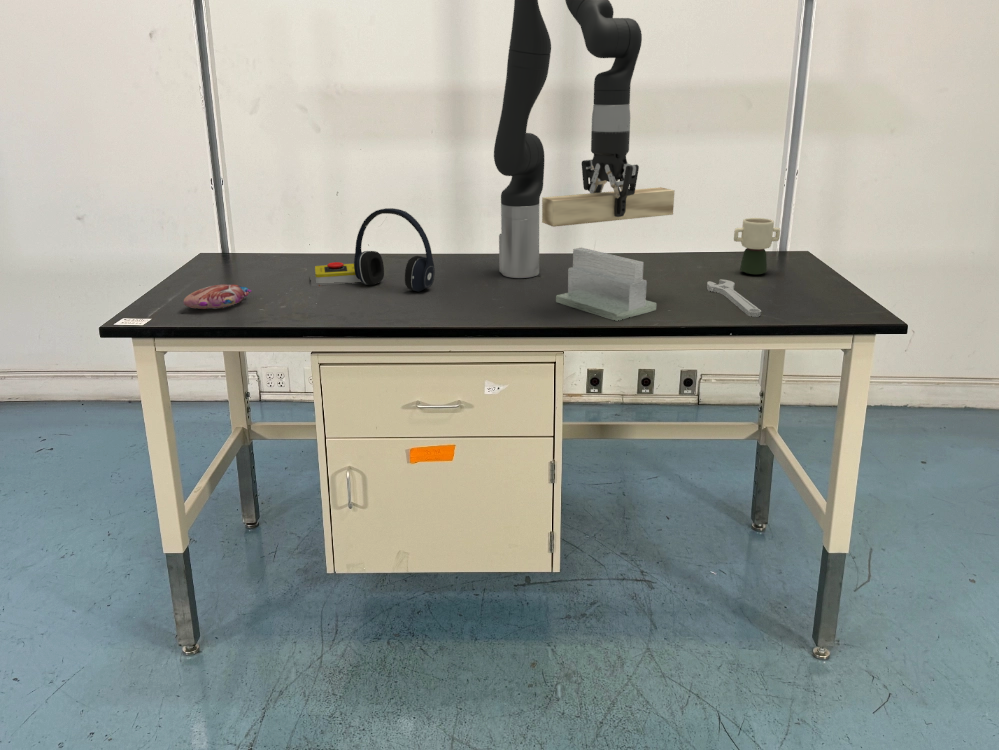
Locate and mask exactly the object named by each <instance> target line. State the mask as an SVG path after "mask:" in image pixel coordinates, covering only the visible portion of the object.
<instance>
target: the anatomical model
mask: <svg viewBox="0 0 999 750" xmlns="http://www.w3.org/2000/svg"><path fill="white" fill-rule="evenodd" d="M250 293H252V290H251V289H249V288H248V287H246V286H240V285H238V284H229V283H228V284H226V283H225V284H215V285H209V286H207V287H203V288H200V289H197V290H195V291H193V292H191V293H190V294H188V295H186V297H184V298H183V302H182V304H183V305H184V306H186V307H188V308H192V309H196V308H198V310H208V309H207V308H222V309H224V308H223V307H227V308H229V307H228V306H230V307H232V306H231V305H233V306H235V305H234V304H236V305H237V303H238V304H239V303H241V302H242V301H243V300H244V298H245V297H248V295H249V294H250Z"/></svg>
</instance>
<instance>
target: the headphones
mask: <svg viewBox="0 0 999 750" xmlns="http://www.w3.org/2000/svg"><path fill="white" fill-rule="evenodd" d="M383 214H386V215H387V214H389V215H390V214H391V215H396V216H397V217H398V216H399V217H401V218H403V219H404V220H406V221H407V222H408V223H409V224H410V225H411V226H412V227H413V228H414V229H415V230H416V232H417V233H418V235H419V237H420V239H421V240H422V243H423V247H424V250H425V256H421V255H415V256H412V257H411V258H409V259H408V261H407V263H406V265H405V266H406V267H405V269H404V284H405V287H406V288H407V289H409V290H411V291H415V292H422V291H424V290H425V289H428V288H429V289H430V287H432V286H433V283H434V281H435V275H436V274H435V273H436V272H435V271H436V268H435V263H434V259H433V253H432V248H431V247H432V246H431V244H430V241H429V239H428V236H427V234H426V232H425V230H424V229H423V227H422V225H421V224H420V223H419V221H417V219H416V218H415V217H413V215H412V214H410V213H408V212H407V211H406V210H403V209H399V208H391V207H390V208H385V207H384V208H380V209H377V210H374V211H373V212H371V213H370V214H369V215H368V216H366V218H365V219H364V220H363V222H362V224H361V226H360V227H359V230H358V232H357V237H356V242H355V248H354V249H355V251H354V259H353V260H354V261H353V264H354V270H355V275H356V277H357V278H358V279H360V281H361V282H362V283H361V284H363V285H366V286H371V285H377V284H379V283H381V282H382V280H384V277H385V266H384V261H383V258H382V255H381V254H380V253H379V252H378V251H375V250H365V251H362V246H363V245H362V242H363V238H364V234H365V231H366V229H367V227H368V226H369V224H370V223H371V222H372V221H373V220H374V219H375V218H377V217H378V216H379V215H383Z"/></svg>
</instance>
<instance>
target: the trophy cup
mask: <svg viewBox="0 0 999 750" xmlns="http://www.w3.org/2000/svg"><path fill="white" fill-rule="evenodd" d="M774 225H775V221H774V220H773V219H769V218H762V217H748V218H744V219H743V221H742V227H736V228H735V229H734V232H733V241H734V242H739V243H741V246H742V247H743V248H745V249H744V251H743V255H742V258H741V262H740V268H739V271H741V272H743V273H745V274H746V275H747V274H750V275H762V274H766V273H767V272H768V271H767V269H768V267H767V261H768V260H767V252H766V249H769V248H771V246H772V244H773V243H772V242H779V240H780V237H781V228H780V227H775V226H774ZM774 232H775V236H774V237H773V234H774ZM739 233H741V237H739Z"/></svg>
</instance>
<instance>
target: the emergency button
mask: <svg viewBox="0 0 999 750" xmlns="http://www.w3.org/2000/svg"><path fill="white" fill-rule="evenodd" d="M314 276H315V280H316V283H334V282H361V281H360V279H358V278H357V277H356V275H355V270H354V263H343V262H338V261H337V262H335V261H334V262H329V263H328V264H326V265H315V266H314Z"/></svg>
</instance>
